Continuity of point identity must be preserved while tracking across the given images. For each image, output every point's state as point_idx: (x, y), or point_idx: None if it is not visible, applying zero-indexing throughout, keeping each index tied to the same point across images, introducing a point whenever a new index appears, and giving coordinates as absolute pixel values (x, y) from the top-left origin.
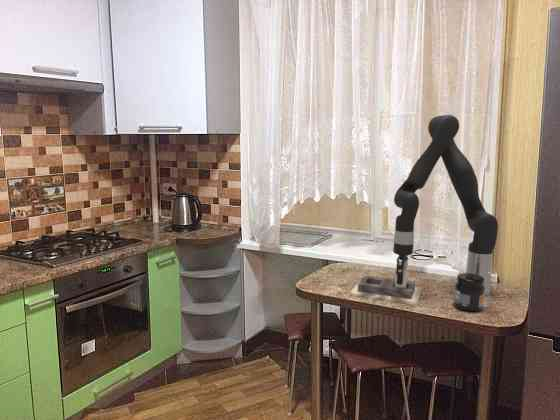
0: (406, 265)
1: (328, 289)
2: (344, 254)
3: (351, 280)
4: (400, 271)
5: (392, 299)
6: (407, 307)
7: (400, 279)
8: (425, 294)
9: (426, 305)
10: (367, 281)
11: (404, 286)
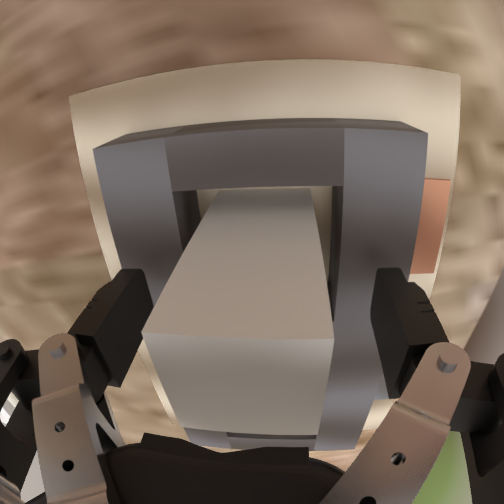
0: (85, 396)
1: (330, 463)
2: (3, 416)
3: (182, 433)
4: (286, 403)
5: (439, 257)
6: (501, 144)
7: (435, 325)
8: (154, 39)
9: (418, 4)
10: None
11: (315, 226)
